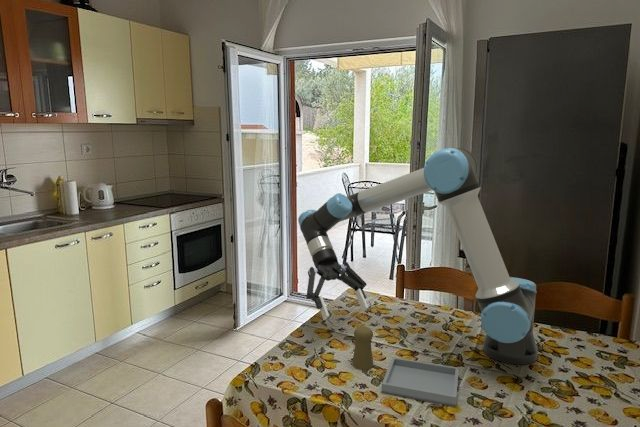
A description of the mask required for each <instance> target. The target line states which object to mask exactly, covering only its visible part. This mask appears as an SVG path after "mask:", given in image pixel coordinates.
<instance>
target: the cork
mask: <svg viewBox="0 0 640 427" xmlns="http://www.w3.org/2000/svg"><path fill="white" fill-rule="evenodd" d="M353 331H354V332H353V334H354V335H353V336H354V339H355V342H354V344H355V345H354V350H353V356H352V357H353V358H352V363H351V364H352V368H355V369H357V370H360V371H367V370H368V371H369V370H371V369H372V368H374V359H373V351H372V350H373V349H372V342H371V341H372V339H373V330H372V329H371V328H370V327H368V326H358V327H356V328H355V330H353Z"/></svg>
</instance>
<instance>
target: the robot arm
mask: <svg viewBox="0 0 640 427" xmlns="http://www.w3.org/2000/svg"><path fill="white" fill-rule="evenodd" d="M478 169H479V168H478V160H477V158H476V157H475V156H474V154H473V153H472V152H470V151H469V150H467V149H465V148H459V147H456V148H454V147H453V148H452V147H445V148H441V149H439V150H437V151H435V152H433V153H432V154H431V155H430V156H429V157H428V158H427V160H426V161H425V164H424V166H423V167H422V168H419V169H417V170H415V171H411V172H408V173H406V174H404V175H401V176H398V177H395V178H392V179H390V180H388V181H386V182H383V183H382V182H381V183H380V184H378V185H377V184H376V185H375V186H371V187H369V188H366V189H363V190H361V191H358V192H356V193H353V194H349V195H345V194H342V193H339V192H338V193H336V194H334V195H333V196H332V197H330V198H329V199H328V200H327V201H326V202H324V204H322V206H320V207H319V208H318V209H307V210H306V211H304V212H302V213H301V214H300V215H299V216H298V219H297V221H298V224H299V229H300V231H301V233H302V235H303V238H304V240H305V243H306V245H307V249H308V250H309V254H310V257H311V259H312V263H313V265H314V266H311V267H309V269H308V271H307V274H308V280H307V281H308V283H307V289H306V291H307V292H306V296H305V297H306V299H308V300H309V299H311V300H312V302H314V304H315V307H316V309H318V310H319V311H320V313H321V316H322V319H323V321H325V320H327V319H328V318H329V317H330V313H329V311H328V308H327V305H326V303H325V300H324V298H323V296H322V295H320V294H321V291H322V289H323V286H324V283H325V281H327V282H328V281H332V280H333V281H335V280H338V281H341V282H342V283H344V284H345V285H347V286H348V287H350V288H351V289H353V290H354V291H355V292H354V294H355V297H356V299H357V302H358V304H359V306H360V309H361V311H362V312H363V313H364V312H366V311H367V310H368V309H369V306H368V305H369V304H368V303H367V301H366V299H367V297H366V294H365V292H364V288H366V286H367V282H365V280H364V279H362V277H361V276H359V275H358V273H357V272H356V271H355V270H354V269H353V268H351V265H350V264H349V263H348V262H347V261H345V262H344V263H342V264H340V263H339V261H338V257H337V254H336V252H335V250H334V246H333V244H332V242H331V239H330V238H329V235H328V231H330V230H331V229H332V228H333V227H335V226H336V225H337V224H338V223H341V222H343V221H346V220H350V219H353V218H357V217H360V216H361V215H364V214H367V213H370V212H372V211H375V210H378V209H381V208H384V207H387V206H390V205H394V204H396V203H399V202H402V201H405V200H407V199H410V198H413V197H417V196H420V195H423V194H425V193H429V192H431V191H434V194H435V196H436V199H437V201H438V204H440V205H442V206H444V207H446V208H447V211H448V213H449V216H450V219H451V222H452V224H453V227H454V230H455V231H456V235H457V237H458V239H459V242H460V244H461V247H462V250H463V252H464V254H465V257H466V260H467V262H468V265H469V267H470V271H471V273H472V275H473V277H474V280H475V283H476V285H477V288H478V289H477V291H476V293H475V295H474V296H475V298H476V301H477V304H478V306H479V309H480V312H481V313H480V323H481V324H480V325H481V327H482V330H483V331H484V333H485V334H486V335H485V337H484V339H483V342H482V344H483V345H482V350H483V352H484V353H485V354H486V355H487V356H488V357H490V358H492V359H494V360H496V361H499V362H503V363H504V364H505V363H506V364H510V365H529V364H532V363H535V362H536V361H537V360H538V353H539V352H538V351H539V350H538V346H537V343H536V339H535V338H536V337H535V335H534V322H535V321H534V319H535V310H536V309H535V307H536V294H537V284H536V283H535V282H533V281H531V280H528V279H524V278H519V277H513V276H510V275H509V271H508V270H507V267H506V265H505V262H504V259H503V257H502V254H501V252H500V249H499V247H498V245H497V241H496V240H495V236H494V234H493V232H492V229H491V226H490V224H489V222H488V219H487V216H486V213H485V212H484V211H485V210H484V209H483V206H482V204H481V202H480V199H479V196H478V195H479V193H480V190H481V189H482V188H481V185H480V182H479V180H478V178H477V175H478ZM314 267H315V268H314ZM316 275H318V276H319V277H320V278H319V280H318V284H317V285H316V288H315V291H314V286H315V280H316V279H315V278H316Z"/></svg>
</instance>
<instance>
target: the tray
mask: <svg viewBox="0 0 640 427" xmlns="http://www.w3.org/2000/svg"><path fill="white" fill-rule="evenodd" d="M459 370H460V368H459V367H457V366H456V367H455V366H452V365H451V366H450V365H443V364H438V363H434V362H433V363H432V362H425V361H419V360H413V359H407V358H401V357H395V356H392V357H391V359H390V362H389V366H388V367H387V370H386V372H385V374H384V377H383V380H382V382H381V394H385V395H391V396H394V397H395V396H396V397H401V398H405V399H406V398H407V399H412V400H417V401H423V402H428V403H433V404H439V405H443V406H447V407H448V406H449V407H453V408H456V407H457V397H458V384H459Z"/></svg>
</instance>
